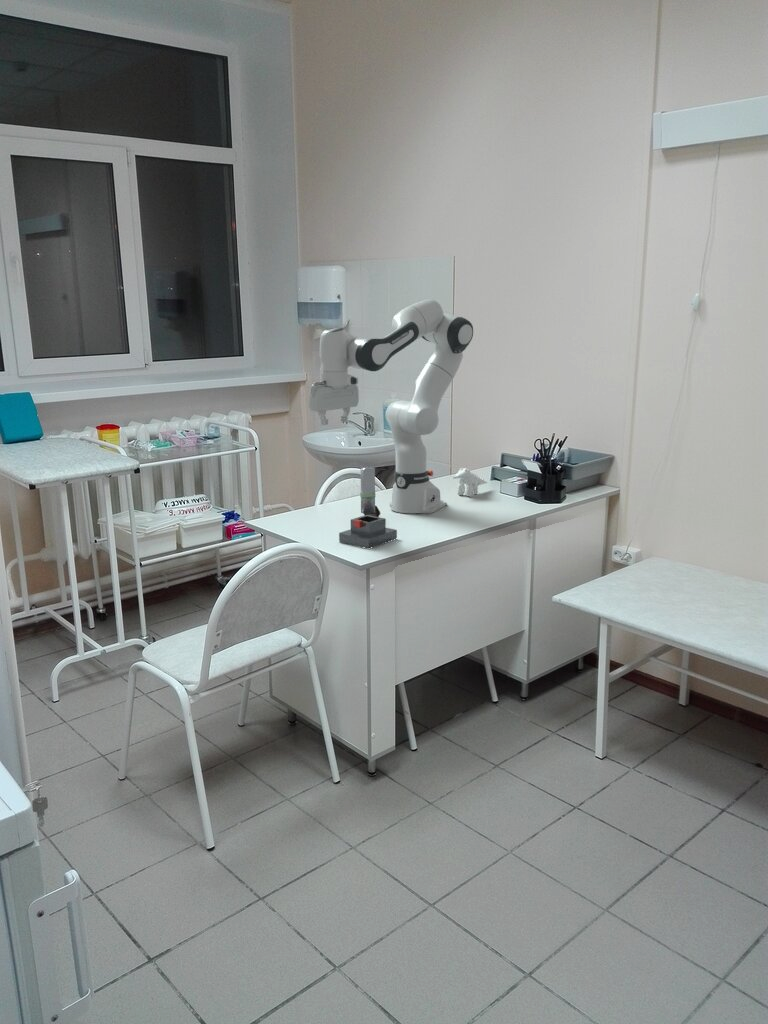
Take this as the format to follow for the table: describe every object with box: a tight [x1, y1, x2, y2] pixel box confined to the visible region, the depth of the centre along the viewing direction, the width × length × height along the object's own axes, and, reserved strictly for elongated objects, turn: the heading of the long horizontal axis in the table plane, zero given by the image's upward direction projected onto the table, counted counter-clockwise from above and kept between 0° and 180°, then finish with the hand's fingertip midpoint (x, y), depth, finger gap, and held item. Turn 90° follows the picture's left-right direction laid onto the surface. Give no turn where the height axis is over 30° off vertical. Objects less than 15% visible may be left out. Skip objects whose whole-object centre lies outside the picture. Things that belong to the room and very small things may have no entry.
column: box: [359, 466, 376, 515], centre depth 254 cm, size 5×5×14 cm
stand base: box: [338, 514, 398, 549], centre depth 257 cm, size 14×12×8 cm
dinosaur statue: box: [452, 467, 488, 497], centre depth 319 cm, size 7×24×11 cm, turn 139°
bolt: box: [363, 505, 381, 517], centre depth 276 cm, size 6×5×15 cm
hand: (334, 423), depth 264 cm, fingers open, 8 cm apart
